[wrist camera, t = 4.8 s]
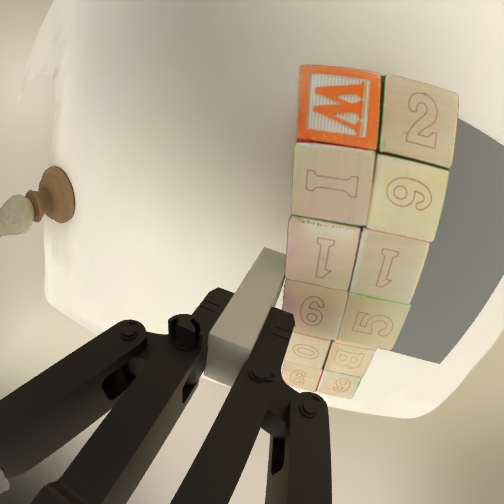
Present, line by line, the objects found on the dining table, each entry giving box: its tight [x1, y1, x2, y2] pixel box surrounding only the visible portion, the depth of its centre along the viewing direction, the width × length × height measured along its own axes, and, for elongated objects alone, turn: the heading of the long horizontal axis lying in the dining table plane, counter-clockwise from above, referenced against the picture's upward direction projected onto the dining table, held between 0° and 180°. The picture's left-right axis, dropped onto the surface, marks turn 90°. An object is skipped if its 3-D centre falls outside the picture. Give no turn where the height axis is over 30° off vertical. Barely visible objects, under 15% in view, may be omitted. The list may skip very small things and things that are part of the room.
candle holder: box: [0, 167, 74, 237], centre depth 25 cm, size 9×9×20 cm
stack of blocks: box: [282, 65, 459, 399], centre depth 17 cm, size 21×6×12 cm, turn 178°
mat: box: [389, 119, 504, 364], centre depth 21 cm, size 24×13×1 cm, turn 169°
